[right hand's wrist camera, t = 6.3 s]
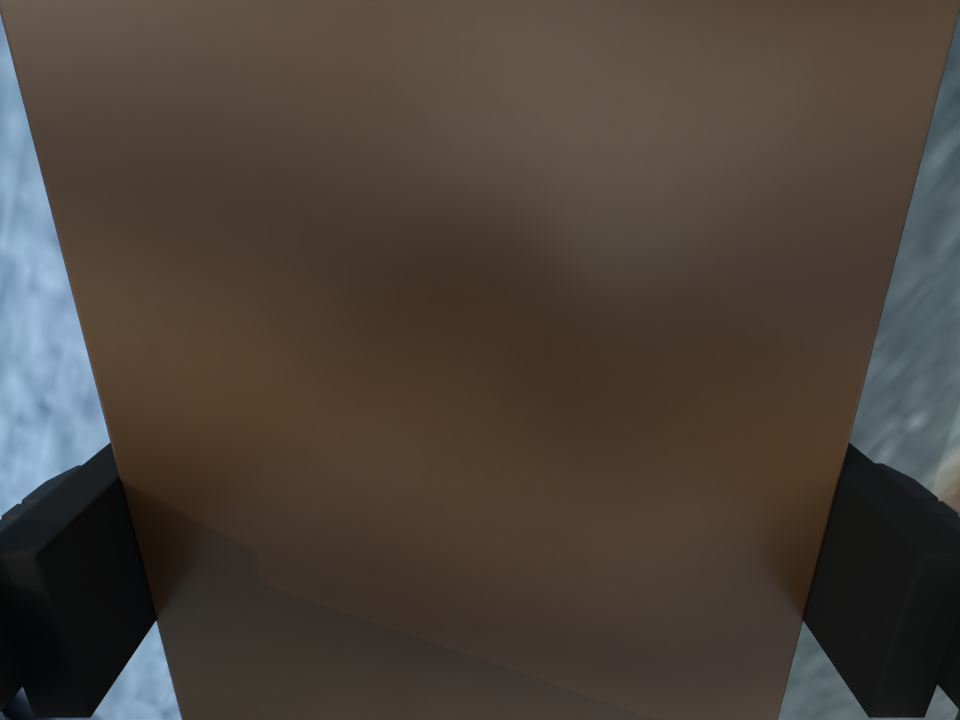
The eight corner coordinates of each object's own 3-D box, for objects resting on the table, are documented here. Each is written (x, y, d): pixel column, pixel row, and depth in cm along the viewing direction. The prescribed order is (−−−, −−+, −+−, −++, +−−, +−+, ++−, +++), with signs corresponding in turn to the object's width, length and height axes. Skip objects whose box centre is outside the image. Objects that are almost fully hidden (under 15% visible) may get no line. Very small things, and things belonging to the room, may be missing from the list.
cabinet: (210, -297, 11) (-298, -1125, 4) (749, -297, 11) (1257, -1125, 4) (308, 496, 18) (186, 748, 10) (650, 496, 18) (772, 747, 10)
